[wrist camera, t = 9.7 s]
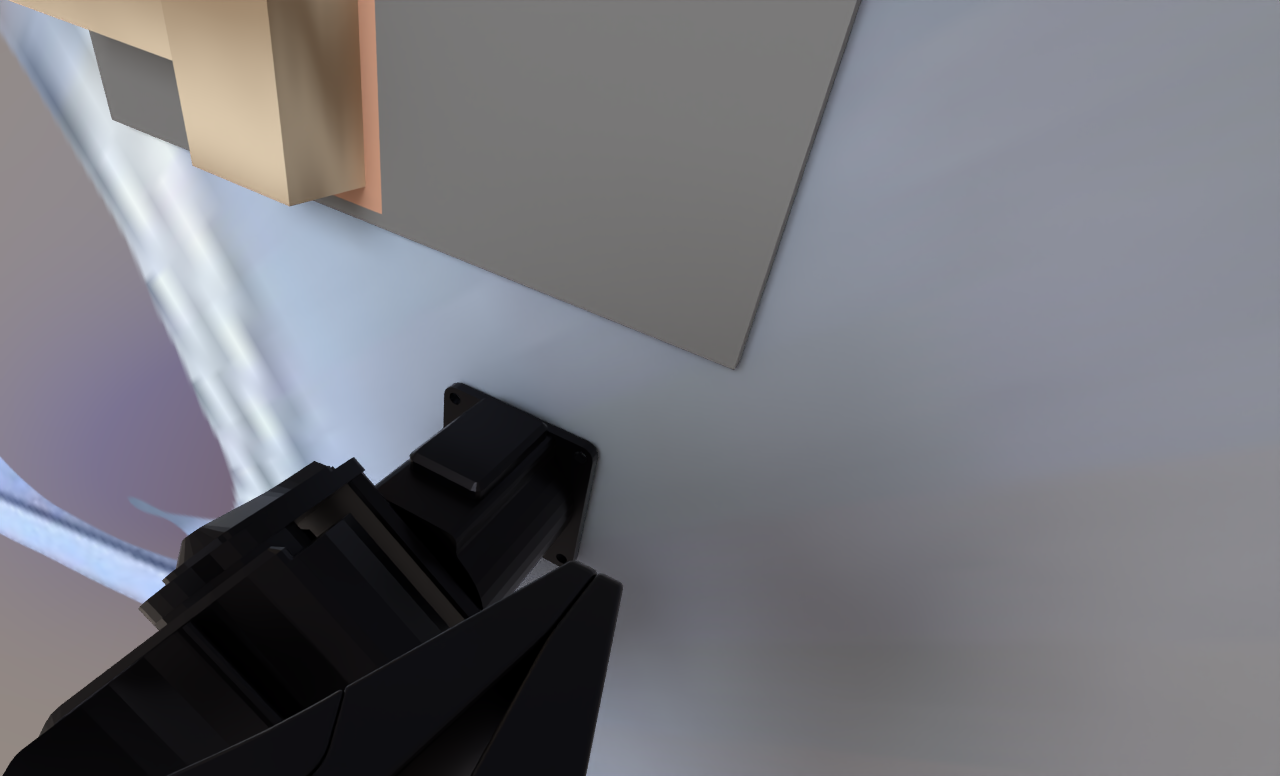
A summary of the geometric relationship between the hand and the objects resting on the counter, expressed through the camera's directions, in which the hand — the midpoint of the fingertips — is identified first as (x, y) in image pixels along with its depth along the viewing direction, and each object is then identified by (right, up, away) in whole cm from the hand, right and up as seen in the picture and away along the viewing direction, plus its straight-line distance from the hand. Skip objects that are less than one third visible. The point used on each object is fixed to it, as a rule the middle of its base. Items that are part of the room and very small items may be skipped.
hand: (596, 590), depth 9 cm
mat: (-7, +14, +10) cm, 18 cm away
